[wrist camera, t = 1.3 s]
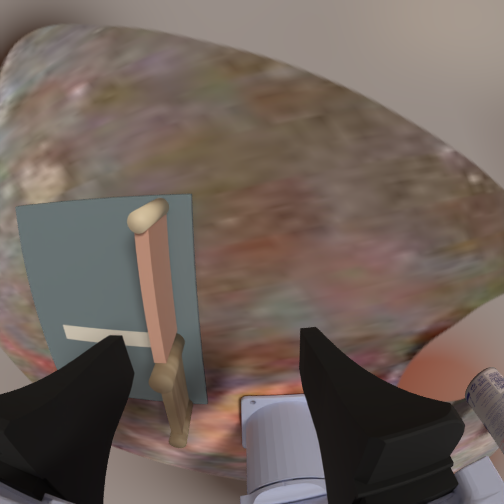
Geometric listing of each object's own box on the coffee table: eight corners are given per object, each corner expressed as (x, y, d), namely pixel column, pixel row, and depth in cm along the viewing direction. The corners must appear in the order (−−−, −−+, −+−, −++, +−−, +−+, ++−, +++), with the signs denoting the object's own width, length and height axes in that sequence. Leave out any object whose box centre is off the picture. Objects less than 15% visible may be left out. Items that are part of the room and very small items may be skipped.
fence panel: (179, 330, 22) (167, 367, 17) (164, 329, 22) (149, 366, 17) (168, 197, 19) (148, 210, 14) (150, 198, 19) (126, 210, 14)
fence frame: (183, 332, 22) (170, 376, 17) (195, 408, 25) (188, 451, 20) (163, 332, 22) (146, 374, 17) (177, 407, 25) (168, 449, 20)
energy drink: (475, 401, 28) (517, 460, 16) (456, 397, 27) (502, 465, 16) (500, 369, 26) (549, 425, 15) (484, 362, 26) (539, 426, 14)
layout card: (191, 193, 19) (190, 194, 19) (207, 401, 25) (207, 404, 24) (18, 206, 19) (15, 207, 19) (65, 383, 25) (63, 386, 24)
